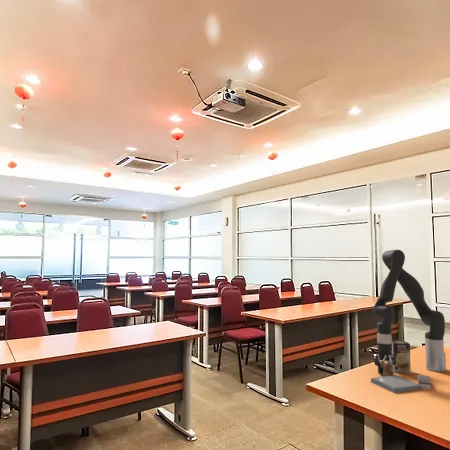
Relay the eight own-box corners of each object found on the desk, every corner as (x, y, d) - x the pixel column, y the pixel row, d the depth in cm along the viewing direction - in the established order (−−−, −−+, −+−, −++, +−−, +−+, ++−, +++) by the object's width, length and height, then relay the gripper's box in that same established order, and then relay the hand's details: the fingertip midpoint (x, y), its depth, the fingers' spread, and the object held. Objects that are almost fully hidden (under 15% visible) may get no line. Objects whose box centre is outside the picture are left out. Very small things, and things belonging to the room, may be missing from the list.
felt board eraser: (418, 381, 190) (417, 374, 190) (429, 382, 188) (428, 376, 188) (418, 388, 179) (418, 381, 180) (430, 390, 177) (430, 383, 177)
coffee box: (394, 372, 202) (393, 343, 204) (389, 369, 209) (389, 340, 210) (411, 373, 201) (410, 343, 203) (406, 369, 208) (405, 341, 209)
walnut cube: (386, 372, 203) (385, 362, 203) (393, 375, 198) (393, 365, 198) (377, 373, 201) (377, 363, 202) (385, 376, 196) (384, 365, 197)
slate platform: (396, 378, 192) (396, 374, 192) (421, 389, 177) (420, 385, 177) (371, 381, 187) (370, 377, 187) (394, 393, 172) (394, 388, 172)
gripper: (390, 339, 207) (391, 370, 205) (368, 341, 202) (369, 372, 201) (400, 342, 200) (401, 374, 198) (378, 344, 195) (379, 376, 194)
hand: (385, 373), depth 200 cm, fingers closed on walnut cube, 5 cm apart
